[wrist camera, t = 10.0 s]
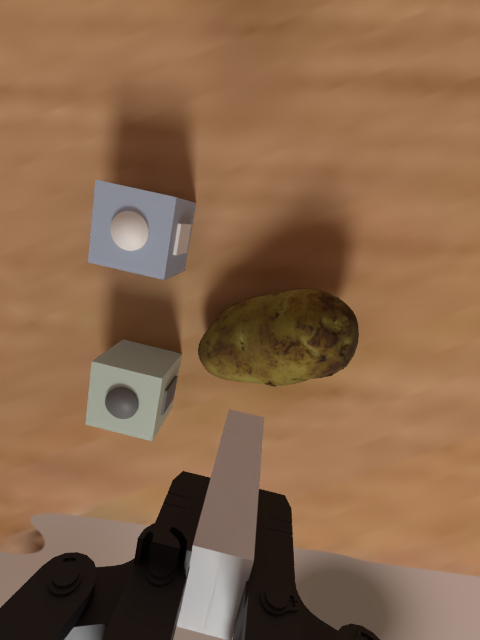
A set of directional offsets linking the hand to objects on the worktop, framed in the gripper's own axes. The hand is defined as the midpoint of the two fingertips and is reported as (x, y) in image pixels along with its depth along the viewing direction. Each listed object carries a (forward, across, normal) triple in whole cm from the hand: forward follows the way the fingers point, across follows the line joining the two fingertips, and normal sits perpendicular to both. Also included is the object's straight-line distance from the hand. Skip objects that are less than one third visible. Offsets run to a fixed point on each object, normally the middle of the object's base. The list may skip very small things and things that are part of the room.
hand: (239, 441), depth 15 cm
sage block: (+19, +10, +8) cm, 22 cm away
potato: (+19, -1, 0) cm, 19 cm away
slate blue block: (+19, +11, -6) cm, 22 cm away
